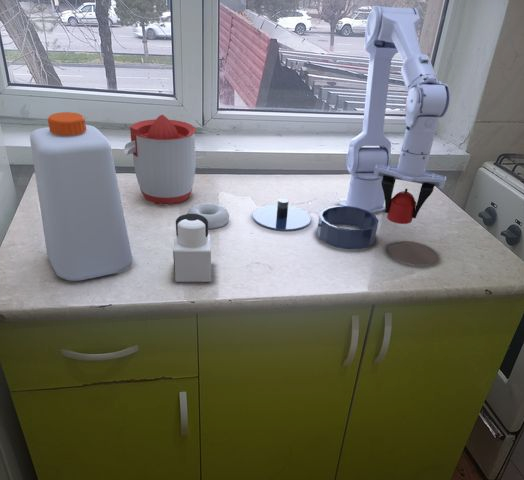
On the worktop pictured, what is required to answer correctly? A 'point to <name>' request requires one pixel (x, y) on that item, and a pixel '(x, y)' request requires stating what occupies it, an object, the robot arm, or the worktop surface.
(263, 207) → the lid
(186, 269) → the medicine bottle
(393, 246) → the coaster
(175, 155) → the citrus juicer
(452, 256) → the worktop surface
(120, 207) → the plastic bottle
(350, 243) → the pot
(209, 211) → the donut
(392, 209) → the red rubber stopper
